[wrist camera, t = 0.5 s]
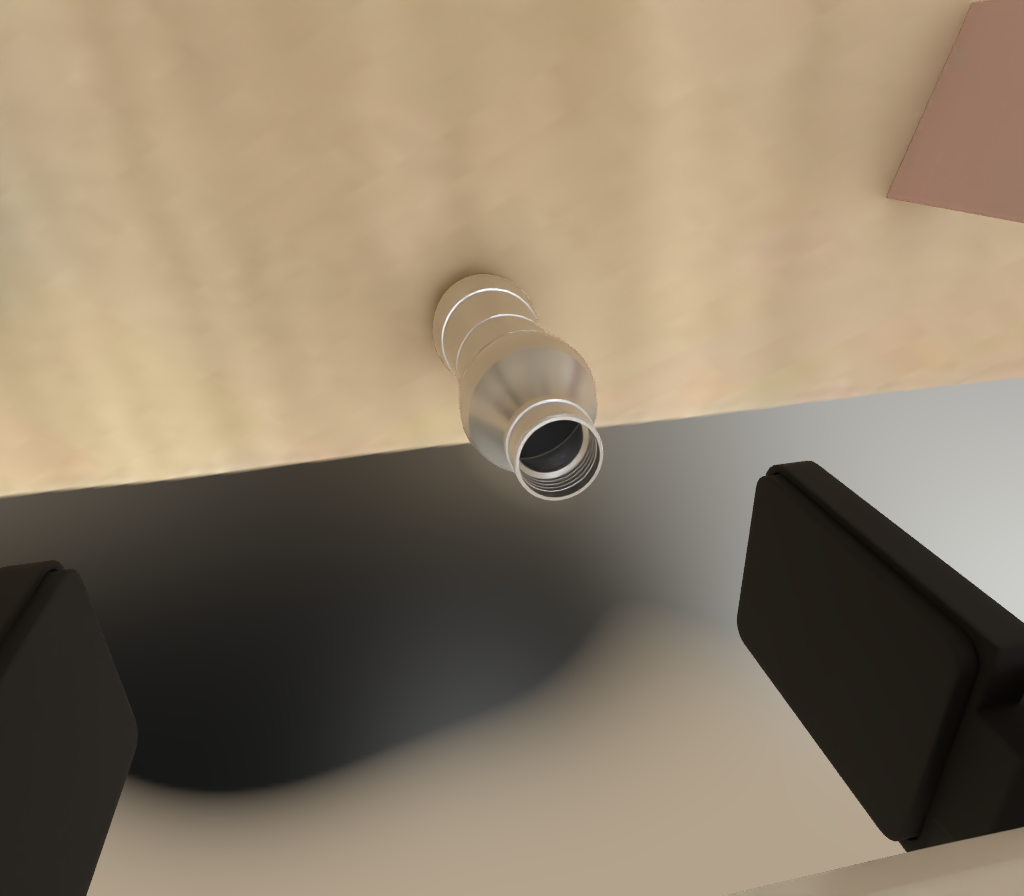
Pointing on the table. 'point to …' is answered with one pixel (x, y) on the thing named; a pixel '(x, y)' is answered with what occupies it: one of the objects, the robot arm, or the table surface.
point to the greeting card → (974, 122)
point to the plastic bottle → (519, 387)
